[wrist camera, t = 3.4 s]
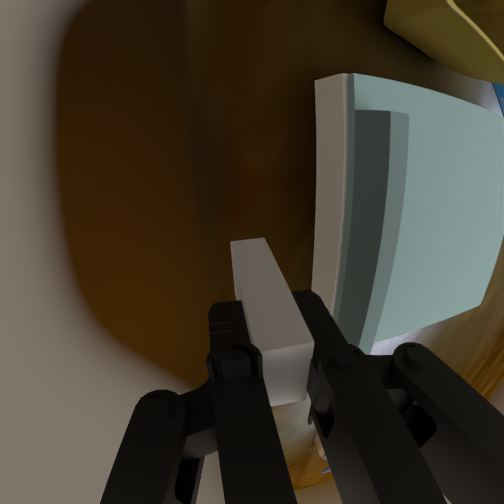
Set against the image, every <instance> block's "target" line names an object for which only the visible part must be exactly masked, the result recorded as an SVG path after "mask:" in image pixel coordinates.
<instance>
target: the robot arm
mask: <svg viewBox="0 0 504 504" xmlns="http://www.w3.org/2000/svg"><path fill="white" fill-rule="evenodd" d="M230 242H231V253H232V264H233V275H234V285H235V294H236V299H237V301H229V302H221V303H213V305H212V307H211V309H210V311H209V312H208V320H209V334H210V335H209V336H210V349H211V351H210V353H209V354H208V355H207V360H206V366H207V370H208V373H209V378H208V380H207V381H206V382H205V383H204V384H203V385H202V386H200V387H199V388H197V389H195V390H193V391H190V392H187V393H184V394H181V395H178V394H177V393H175V392H172V391H169V390H155V391H152V392H149V393H147V394H146V395H144V396H143V397H141V398H140V400H139V402H138V403H137V405H136V406H135V409H134V411H133V414H132V416H131V419H130V421H129V424H128V427H127V429H126V432H125V435H124V437H123V440H122V442H121V445H120V448H119V450H118V453H117V456H116V459H115V461H114V464H113V467H112V470H111V473H110V475H109V478H108V481H107V484H106V487H105V490H104V493H103V496H102V499H101V502H100V504H196V499H197V494H198V489H199V483H200V479H201V473H202V468H203V463H204V458H205V455H208V454H210V453H213V452H216V451H218V454H219V462H220V469H221V477H222V484H223V491H224V498H225V504H297V501H296V497H295V494H294V490H293V486H292V483H291V479H290V475H289V472H288V468H287V465H286V461H285V457H284V454H283V450H282V446H281V443H280V439H279V435H278V431H277V428H276V424H275V420H274V416H273V413H272V409H271V406H277V405H282V404H287V403H292V402H297V401H301V400H306V395H307V391H308V394H309V397H310V399H311V407H310V411H309V416H308V425H310V424H312V421H314V424H315V427H316V430H317V433H318V435H319V438H320V441H321V444H322V447H323V449H324V452H325V455H326V458H327V461H328V464H329V466H330V469H331V472H332V475H333V478H334V480H335V483H336V486H337V489H338V492H339V494H340V497H341V500H342V503H343V504H447V502H446V500H445V498H444V496H445V497H446V498H447V499H448V500H449V501H450V502H451V503H452V504H504V416H503V415H502V414H501V413H500V412H499V411H498V410H497V409H496V408H495V407H494V406H493V405H491V404H490V403H489V402H488V401H487V400H486V399H485V398H484V397H483V396H482V395H481V394H479V393H478V392H477V391H476V390H475V389H474V388H473V387H472V386H470V385H469V384H468V383H467V382H466V381H465V380H464V379H463V378H461V377H460V376H459V375H458V374H457V373H456V372H455V371H453V370H452V369H451V368H450V367H449V366H448V365H446V364H445V363H444V362H443V361H442V360H441V359H439V358H438V357H437V356H436V355H435V354H434V353H432V352H431V351H430V350H429V349H428V348H426V347H425V346H423V345H421V344H418V343H414V342H407V343H403V344H401V345H399V346H398V347H397V348H396V349H395V350H394V353H393V355H367V354H365V353H364V352H363V351H362V350H361V349H360V348H358V347H356V346H354V345H352V344H348V343H347V341H346V339H345V338H344V336H343V334H342V333H341V331H340V329H339V327H338V326H337V324H336V322H335V321H334V319H333V317H332V316H331V315H330V312H329V311H328V309H327V307H325V304H324V302H323V301H322V299H321V297H320V296H319V295H317V294H316V293H314V292H313V291H312V290H310V289H308V290H302V291H295V292H290V290H289V287H288V285H287V283H286V281H285V279H284V277H283V275H282V273H281V271H280V269H279V267H278V265H277V263H276V261H275V259H274V257H273V255H272V253H271V250H270V248H269V246H268V244H267V242H266V240H265V238H257V239H248V240H239V241H230ZM442 493H443V494H444V496H443V494H442Z"/></svg>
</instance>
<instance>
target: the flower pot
mask: <svg viewBox="0 0 504 504" xmlns="http://www.w3.org/2000/svg"><path fill="white" fill-rule="evenodd" d="M384 25H385V26H386V27H387V28H388V29H389V30H391V31H393V32H394V33H396V34H397V35H399V36H400V37H402V38H404V39H405V40H407V41H408V42H410V43H411V44H413V45H414V46H415V47H417V48H418V49H420V50H421V51H422V52H424V53H425V54H426V55H428V56H429V57H431V58H432V59H434V60H436V61H438V62H439V63H441V64H443V65H445V66H446V67H448V68H450V69H452V70H454V71H456V72H459V73H461V74H464V75H466V76H469V77H472V78H476V79H480V80H485V81H490V82H494V83H498V84H502V85H504V0H387V5H386V10H385V15H384Z"/></svg>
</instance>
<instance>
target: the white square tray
mask: <svg viewBox="0 0 504 504" xmlns="http://www.w3.org/2000/svg"><path fill="white" fill-rule="evenodd" d="M347 75H348V74H345V73H342V74H338V75H334V76H330V77H326V78H322V79H319V80H315V102H316V213H315V238H314V257H313V273H312V288H311V290H312V291H313V292H314V293H316V294H317V295H319V296H320V297H321V299H322V301H323V302H324V304H325V307H327V309H328V311H329V312H330V315H331V316H332V317H333V318H334V312H335V305H336V298H337V291H338V283H339V275H340V267H341V258H342V248H343V237H344V226H345V213H346V197H347V177H348V84H347Z"/></svg>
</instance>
